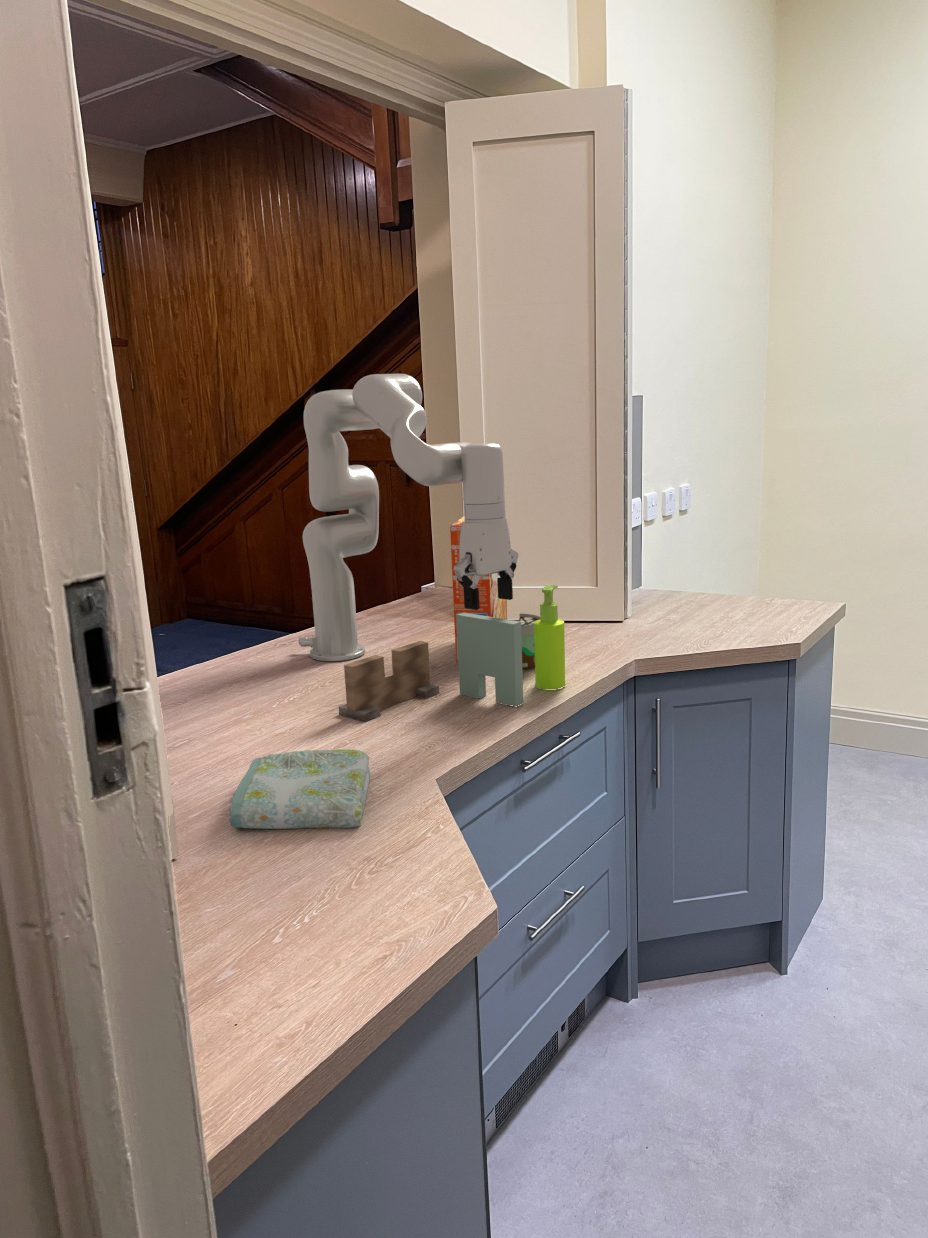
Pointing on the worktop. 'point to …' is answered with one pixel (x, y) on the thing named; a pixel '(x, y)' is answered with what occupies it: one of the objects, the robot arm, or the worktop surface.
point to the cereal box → (486, 586)
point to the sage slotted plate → (490, 657)
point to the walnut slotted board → (387, 681)
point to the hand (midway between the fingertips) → (489, 603)
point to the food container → (528, 640)
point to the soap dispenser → (549, 644)
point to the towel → (303, 790)
